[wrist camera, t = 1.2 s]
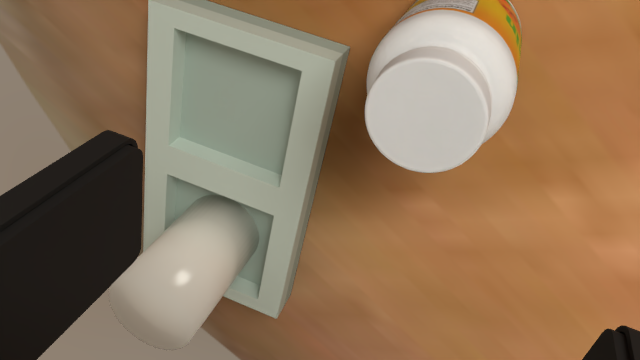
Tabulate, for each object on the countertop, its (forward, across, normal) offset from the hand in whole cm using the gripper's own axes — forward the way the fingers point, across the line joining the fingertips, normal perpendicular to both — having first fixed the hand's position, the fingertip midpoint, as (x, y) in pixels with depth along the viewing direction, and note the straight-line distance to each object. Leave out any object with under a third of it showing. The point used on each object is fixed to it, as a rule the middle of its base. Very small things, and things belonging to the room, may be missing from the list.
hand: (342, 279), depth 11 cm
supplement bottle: (+18, 0, 0) cm, 18 cm away
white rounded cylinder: (+17, +10, +16) cm, 25 cm away
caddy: (+18, +10, +11) cm, 23 cm away
